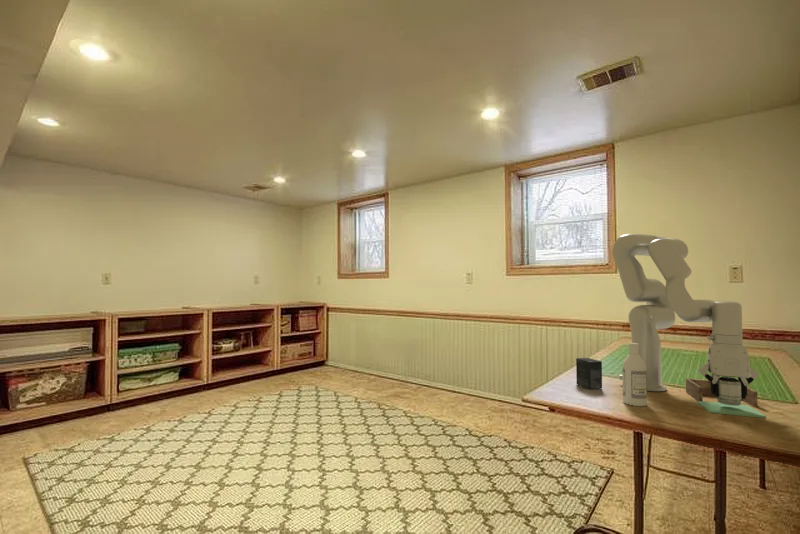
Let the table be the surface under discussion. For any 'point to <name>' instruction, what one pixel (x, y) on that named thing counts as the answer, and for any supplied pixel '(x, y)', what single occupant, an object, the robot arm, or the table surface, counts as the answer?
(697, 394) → the cubby
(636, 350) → the bath foam
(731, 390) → the camera lens
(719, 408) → the cutting mat
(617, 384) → the table surface
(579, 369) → the box
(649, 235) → the robot arm
